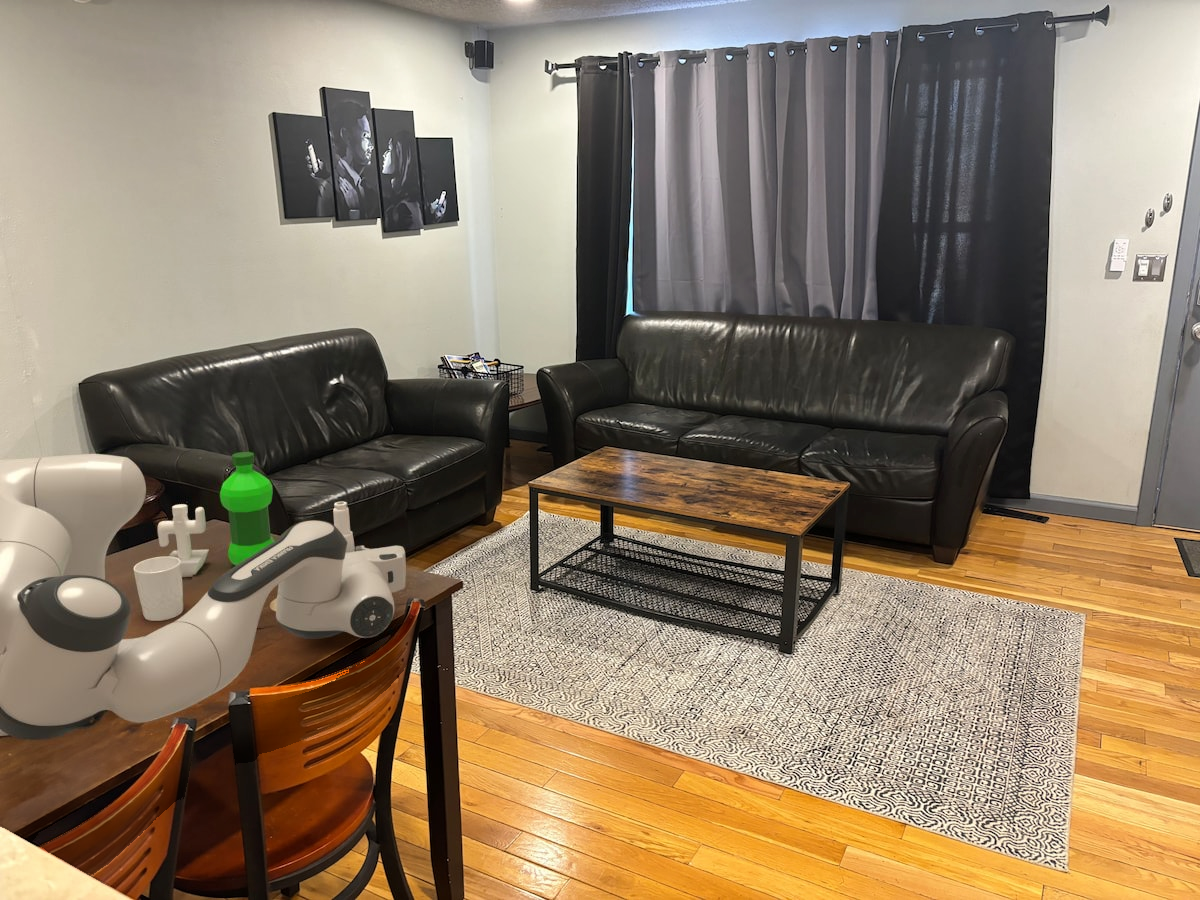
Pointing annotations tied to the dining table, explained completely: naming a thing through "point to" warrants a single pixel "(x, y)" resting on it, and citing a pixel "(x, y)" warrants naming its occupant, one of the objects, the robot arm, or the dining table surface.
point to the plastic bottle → (247, 508)
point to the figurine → (184, 538)
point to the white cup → (160, 587)
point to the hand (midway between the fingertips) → (343, 551)
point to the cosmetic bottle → (343, 524)
